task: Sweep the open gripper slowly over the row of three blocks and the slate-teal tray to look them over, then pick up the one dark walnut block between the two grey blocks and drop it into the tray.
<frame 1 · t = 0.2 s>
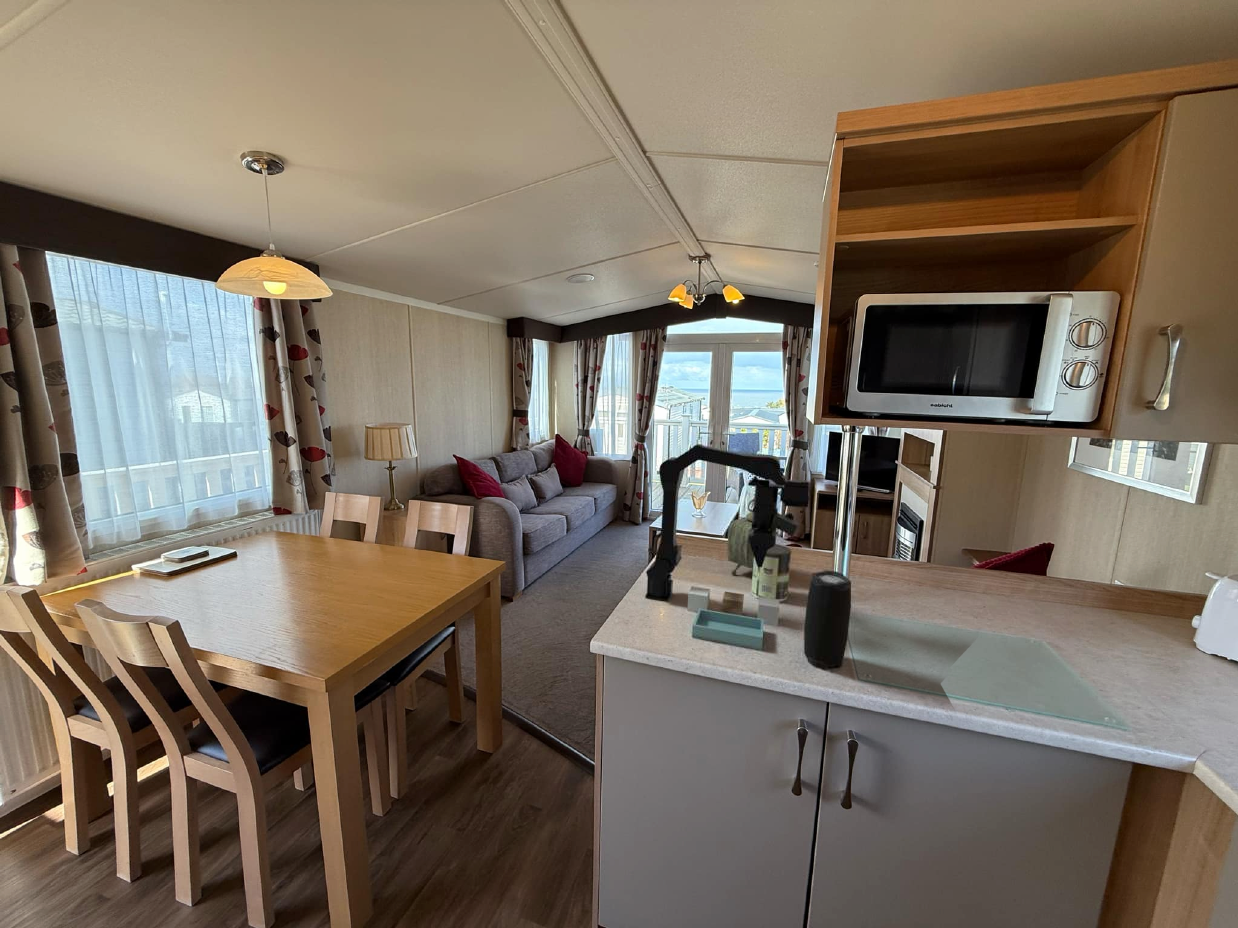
hand: (760, 561, 128), 14 cm above the counter, tool pointing down, fingers open, 9 cm apart
portable speaker: (822, 661, 107), on the counter
coffee can: (768, 595, 141), on the counter
tray: (728, 633, 117), on the counter
tabletop clock: (750, 574, 157), on the counter
walnut block: (732, 614, 128), on the counter
grey block right: (767, 620, 125), on the counter
grey block left: (698, 608, 131), on the counter
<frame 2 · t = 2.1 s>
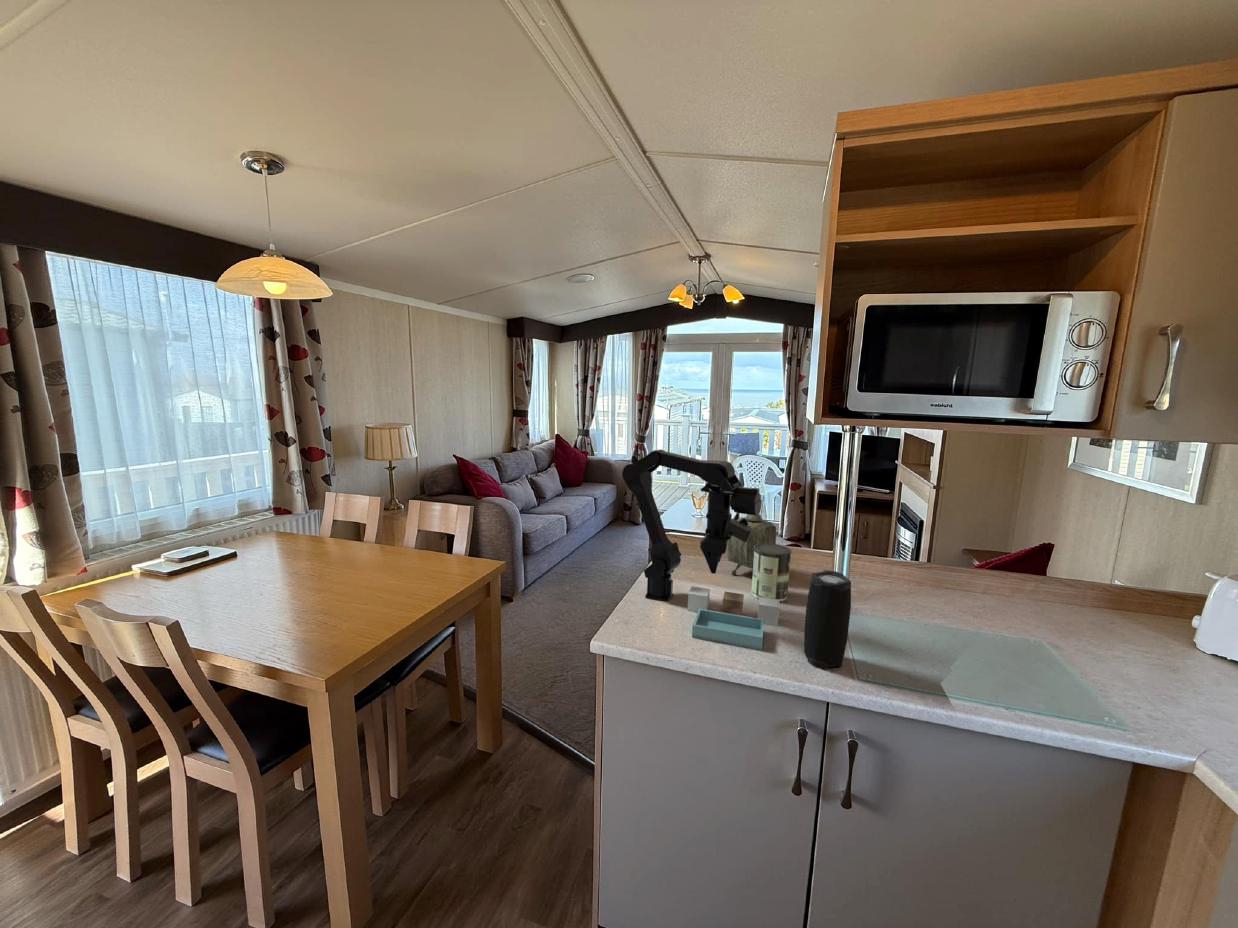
hand: (715, 567, 128), 12 cm above the counter, tool pointing down, fingers open, 9 cm apart
nothing on the counter moved.
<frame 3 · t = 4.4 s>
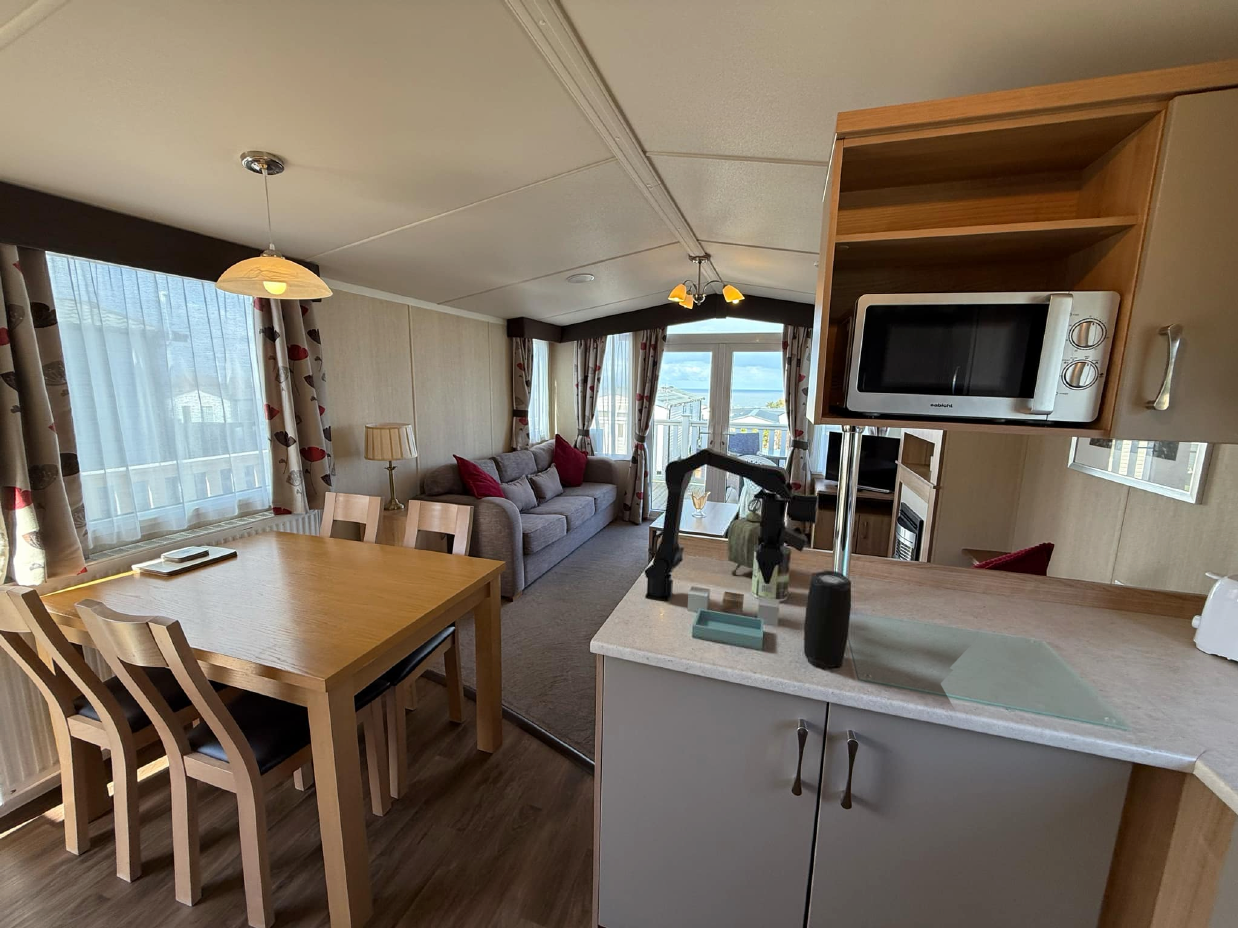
hand: (767, 576, 123), 12 cm above the counter, tool pointing down, fingers open, 9 cm apart
nothing on the counter moved.
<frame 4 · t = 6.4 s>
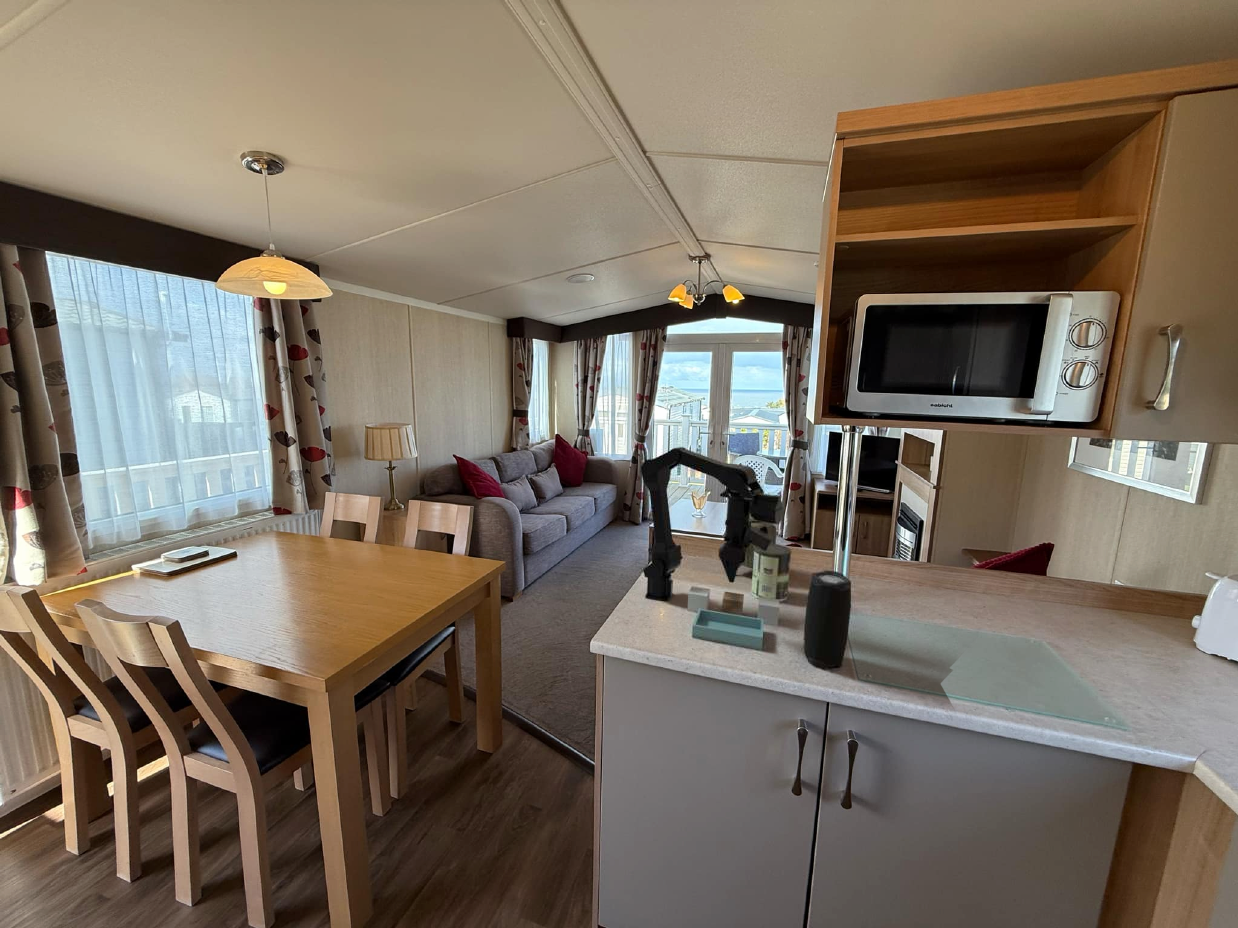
hand: (733, 575, 123), 12 cm above the counter, tool pointing down, fingers open, 9 cm apart
nothing on the counter moved.
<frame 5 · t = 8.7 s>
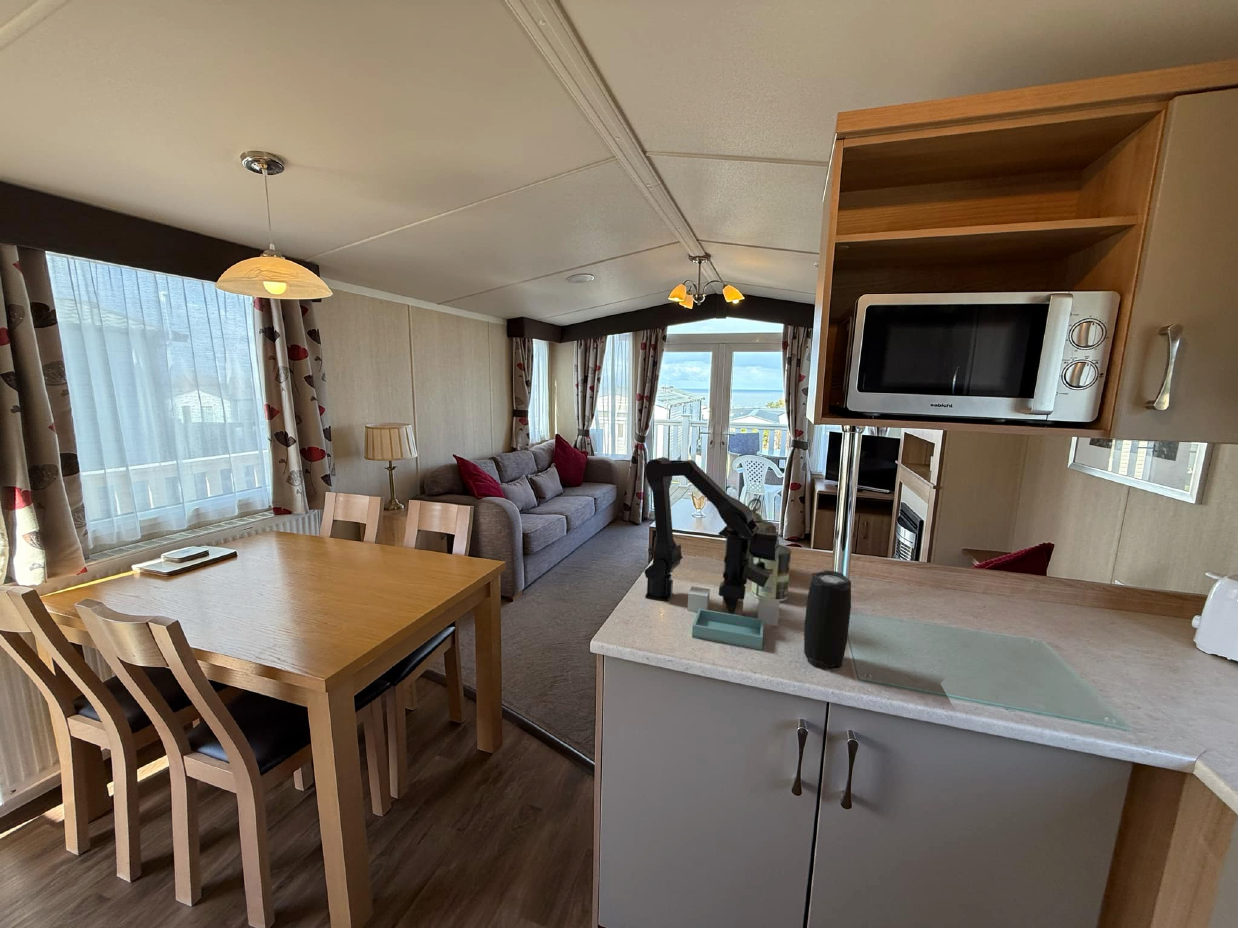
hand: (732, 610, 128), 1 cm above the counter, tool pointing down, fingers closed on walnut block, 5 cm apart
walnut block: (732, 613, 128), on the counter, touching gripper
everything else where it was.
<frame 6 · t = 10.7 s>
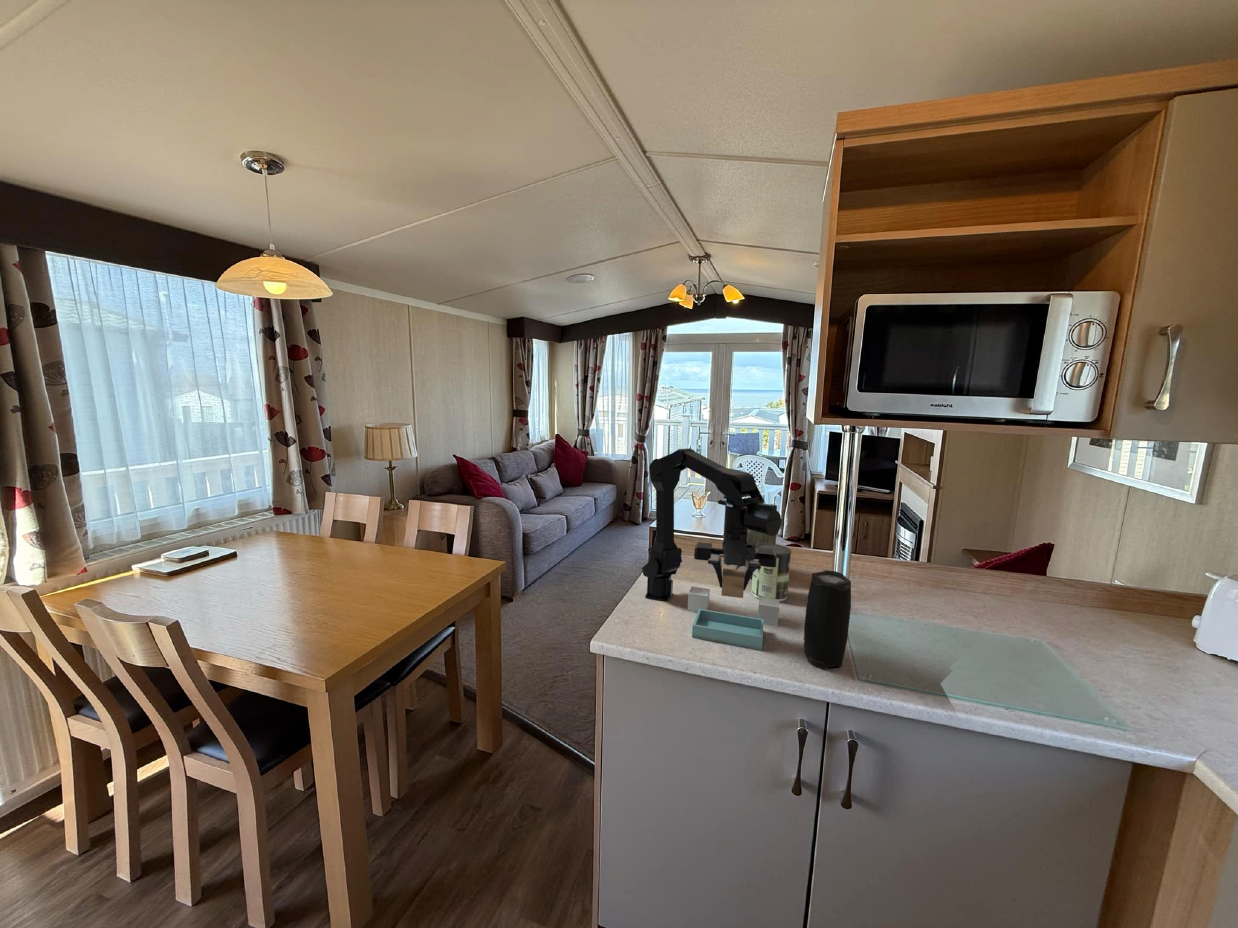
hand: (732, 588, 116), 11 cm above the counter, tool pointing down, fingers closed on walnut block, 5 cm apart
walnut block: (732, 592, 117), point 10 cm above the counter, touching gripper
everything else where it was.
when the fingers open (3 cm above the counter, at t = 12.7 s): walnut block drops 1 cm, resting on tray.
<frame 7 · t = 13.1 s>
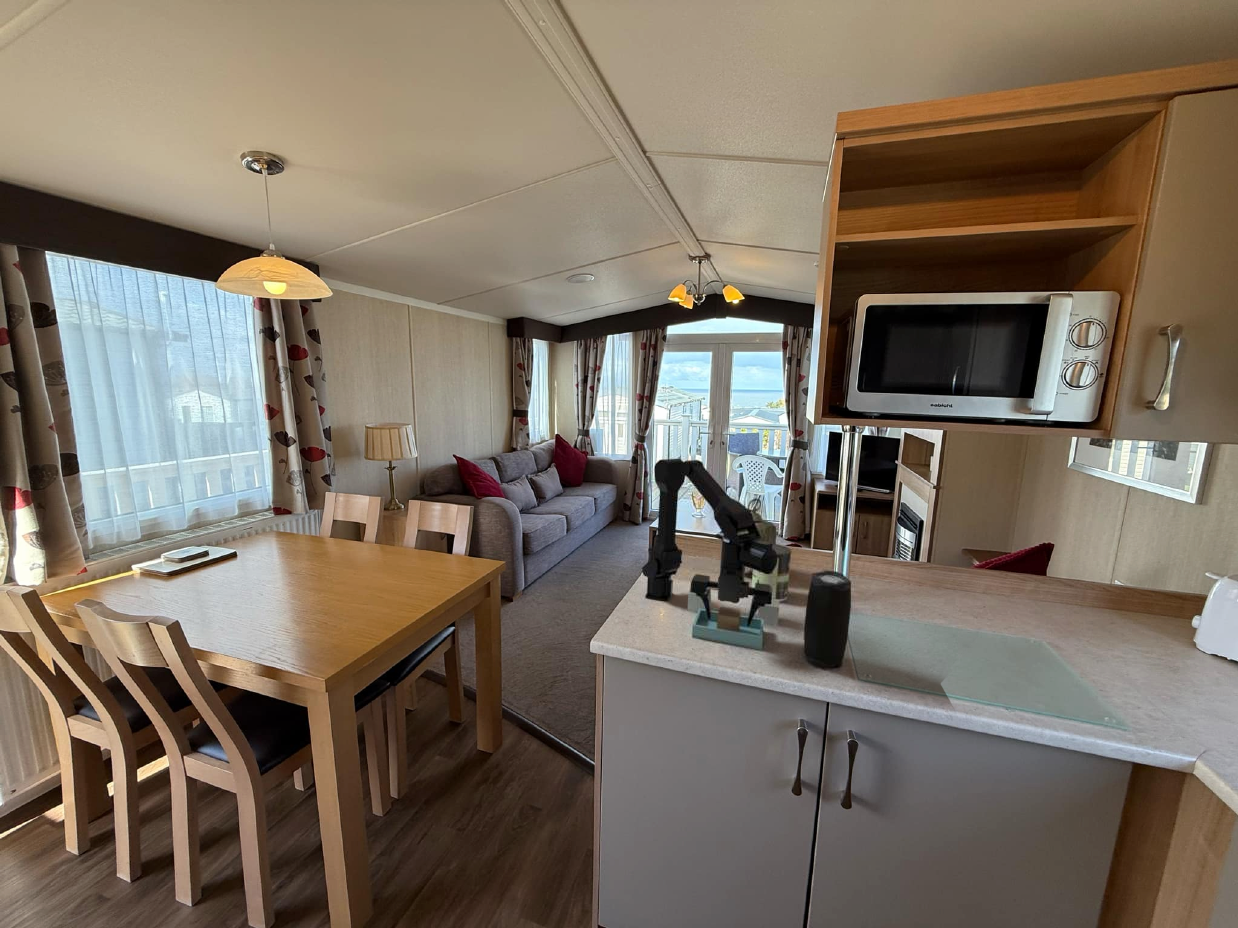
hand: (728, 622, 117), 3 cm above the counter, tool pointing down, fingers open, 9 cm apart
walnut block: (728, 631, 117), point 1 cm above the counter, touching tray
everything else where it was.
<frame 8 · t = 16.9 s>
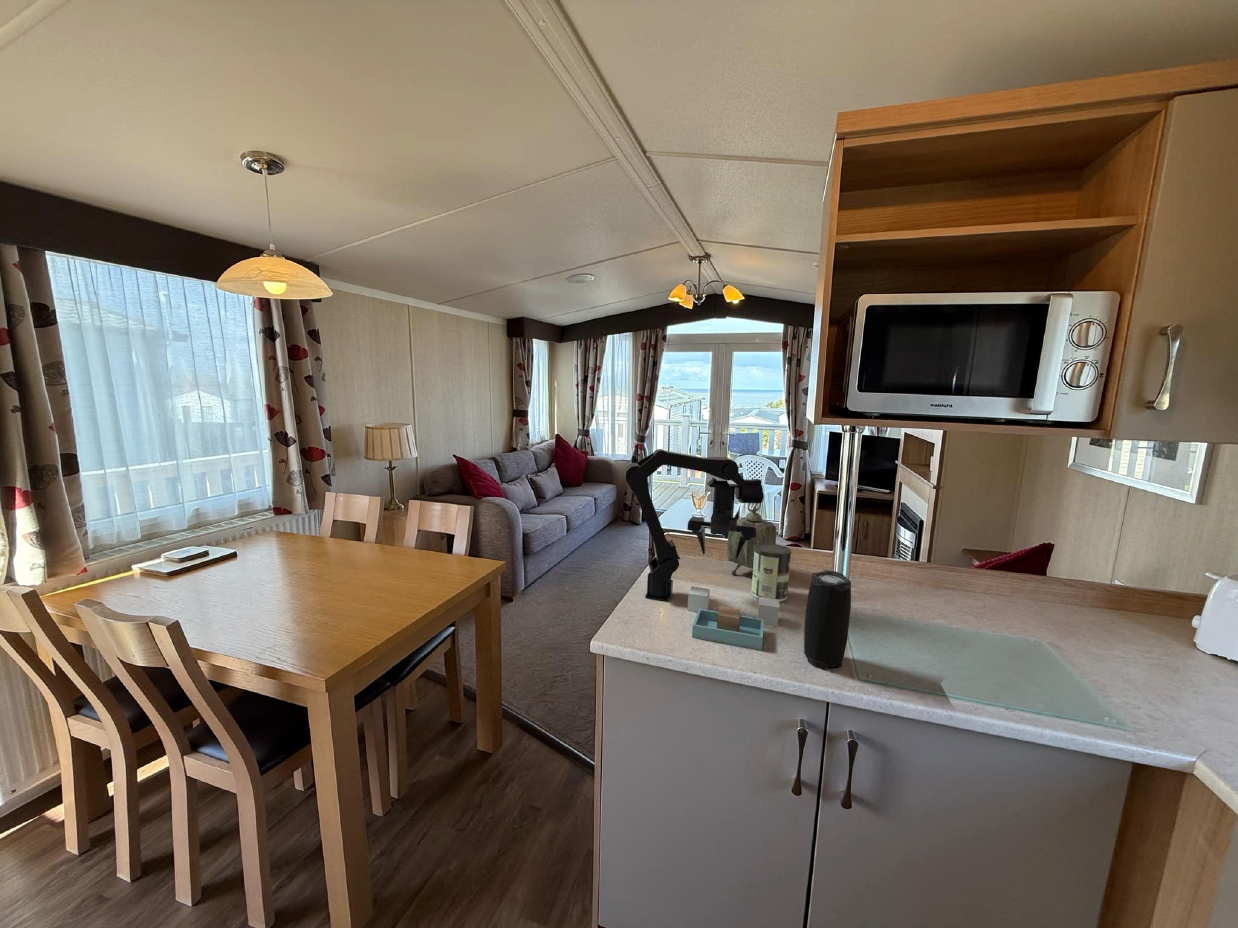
hand: (720, 556, 137), 12 cm above the counter, tool pointing down, fingers open, 9 cm apart
nothing on the counter moved.
at the end: walnut block inside the target area on the tray (0.0 cm from its centre), point 0.6 cm above the tray's base; the gripper is holding nothing; grey block right moved 0.1 cm from its start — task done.
